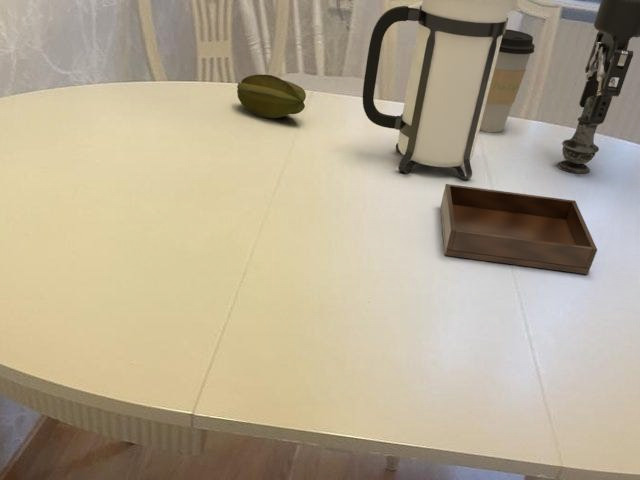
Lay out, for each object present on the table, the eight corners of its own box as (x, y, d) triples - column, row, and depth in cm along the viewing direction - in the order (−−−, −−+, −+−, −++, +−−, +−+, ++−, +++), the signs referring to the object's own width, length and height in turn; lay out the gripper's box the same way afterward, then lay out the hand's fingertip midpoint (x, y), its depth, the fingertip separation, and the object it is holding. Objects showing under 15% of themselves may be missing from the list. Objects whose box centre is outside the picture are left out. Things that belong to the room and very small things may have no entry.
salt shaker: (594, 167, 126) (622, 89, 118) (586, 177, 122) (614, 97, 114) (560, 159, 128) (585, 81, 120) (551, 168, 124) (576, 88, 116)
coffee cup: (492, 138, 133) (517, 42, 123) (450, 123, 138) (471, 29, 128) (522, 130, 138) (548, 38, 128) (480, 116, 143) (502, 25, 133)
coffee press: (427, 142, 129) (471, -75, 109) (497, 174, 120) (560, -56, 100) (350, 155, 120) (382, -76, 100) (420, 191, 111) (471, -56, 91)
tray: (567, 223, 106) (575, 200, 104) (587, 274, 94) (597, 249, 92) (440, 206, 107) (445, 183, 105) (444, 255, 95) (450, 230, 93)
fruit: (298, 107, 137) (302, 67, 133) (304, 129, 128) (308, 87, 124) (235, 103, 136) (237, 62, 132) (237, 124, 127) (238, 81, 123)
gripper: (670, 7, 103) (623, 131, 114) (645, -11, 114) (605, 105, 125) (615, 0, 104) (574, 125, 114) (595, -17, 114) (559, 99, 125)
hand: (590, 114), depth 120 cm, fingers open, 8 cm apart
